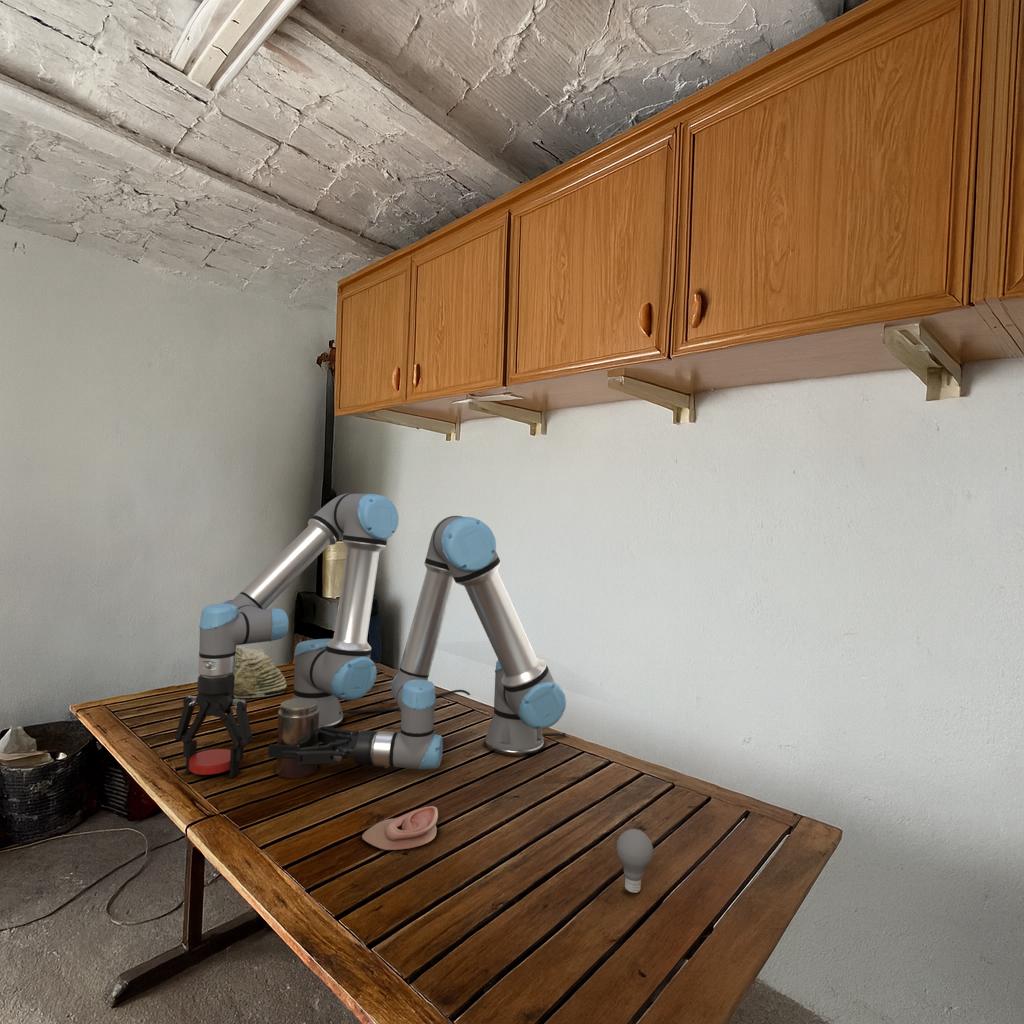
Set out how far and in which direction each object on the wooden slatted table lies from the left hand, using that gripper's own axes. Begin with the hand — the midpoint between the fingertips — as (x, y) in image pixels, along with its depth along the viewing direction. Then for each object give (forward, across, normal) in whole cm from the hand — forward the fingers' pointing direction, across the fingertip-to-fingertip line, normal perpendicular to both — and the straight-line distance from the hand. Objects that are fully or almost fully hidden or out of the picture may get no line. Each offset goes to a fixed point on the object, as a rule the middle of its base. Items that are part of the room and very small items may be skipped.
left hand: (212, 772), depth 142 cm
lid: (-3, 0, 0) cm, 3 cm away
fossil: (0, -17, +54) cm, 57 cm away
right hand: (-6, +13, +5) cm, 15 cm away
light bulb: (0, +90, -30) cm, 95 cm away
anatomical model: (0, +48, -19) cm, 52 cm away
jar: (0, +17, +5) cm, 18 cm away
